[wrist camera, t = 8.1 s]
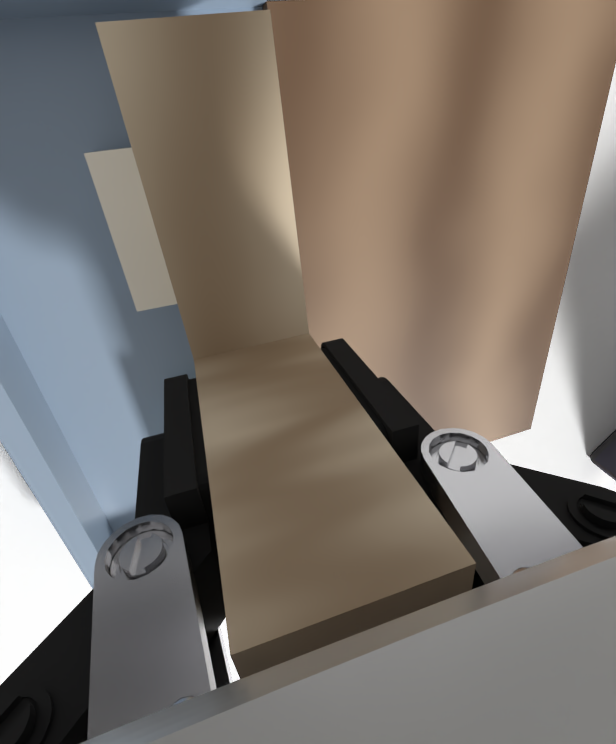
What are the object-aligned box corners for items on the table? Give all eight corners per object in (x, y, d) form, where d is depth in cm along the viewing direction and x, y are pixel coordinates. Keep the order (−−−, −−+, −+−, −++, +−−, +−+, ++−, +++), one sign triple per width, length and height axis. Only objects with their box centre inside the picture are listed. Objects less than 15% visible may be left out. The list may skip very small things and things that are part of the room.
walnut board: (580, 2, 15) (633, -16, 13) (504, 408, 24) (530, 428, 22) (251, 20, 12) (266, 1, 11) (309, 467, 21) (321, 494, 20)
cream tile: (239, 134, 12) (251, 133, 10) (260, 267, 14) (273, 285, 13) (95, 151, 11) (83, 153, 10) (140, 290, 13) (136, 311, 12)
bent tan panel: (247, 37, 10) (648, -453, 2) (315, 507, 18) (435, 802, 10) (111, 49, 9) (-315, -631, 1) (247, 528, 17) (317, 861, 9)
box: (247, -16, 12) (276, -68, 9) (310, 478, 22) (333, 530, 19) (-172, -2, 10) (-315, -63, 7) (112, 538, 20) (104, 607, 17)
